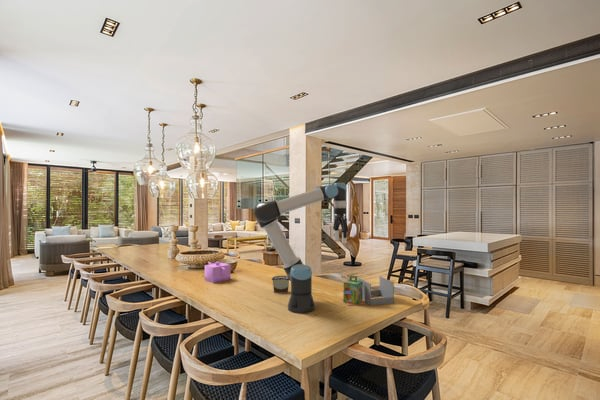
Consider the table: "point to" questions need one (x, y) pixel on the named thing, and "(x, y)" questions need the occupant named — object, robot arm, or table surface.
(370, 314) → the table surface
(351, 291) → the green juice carton
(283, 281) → the food container
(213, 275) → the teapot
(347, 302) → the mat
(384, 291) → the grey open holder
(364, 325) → the table surface
